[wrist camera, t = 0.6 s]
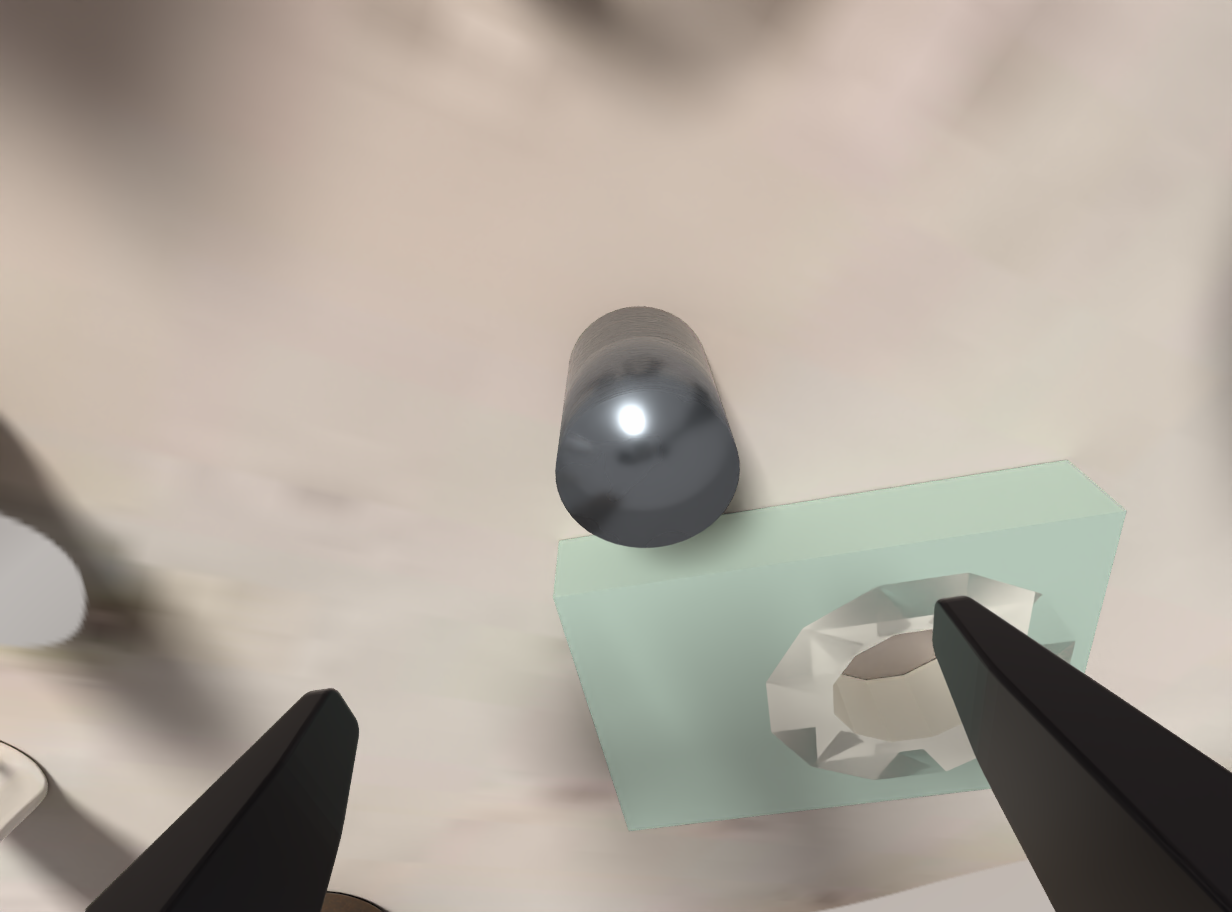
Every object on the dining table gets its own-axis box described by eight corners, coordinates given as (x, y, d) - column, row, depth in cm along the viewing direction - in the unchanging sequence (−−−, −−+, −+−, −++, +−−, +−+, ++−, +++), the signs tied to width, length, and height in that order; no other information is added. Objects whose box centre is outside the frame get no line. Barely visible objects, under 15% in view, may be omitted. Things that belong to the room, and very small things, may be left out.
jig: (1067, 460, 23) (1126, 510, 20) (1017, 718, 30) (1056, 780, 27) (558, 540, 24) (553, 597, 22) (627, 768, 31) (628, 831, 29)
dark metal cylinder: (697, 294, 20) (730, 376, 14) (714, 422, 22) (747, 533, 17) (554, 321, 20) (534, 411, 15) (584, 444, 22) (577, 559, 17)
